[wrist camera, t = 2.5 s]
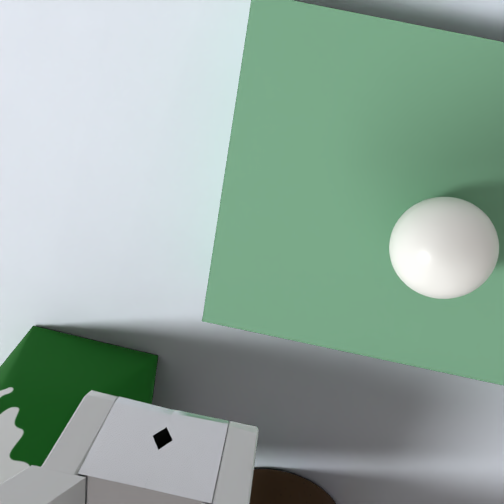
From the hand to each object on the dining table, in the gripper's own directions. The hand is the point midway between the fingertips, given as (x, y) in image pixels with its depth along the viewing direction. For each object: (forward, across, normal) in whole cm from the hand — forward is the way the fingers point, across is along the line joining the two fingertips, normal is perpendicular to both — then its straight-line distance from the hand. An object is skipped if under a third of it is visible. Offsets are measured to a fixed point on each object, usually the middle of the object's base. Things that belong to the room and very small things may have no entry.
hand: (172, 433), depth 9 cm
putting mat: (+14, -10, -1) cm, 17 cm away
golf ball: (+10, -7, -1) cm, 12 cm away
